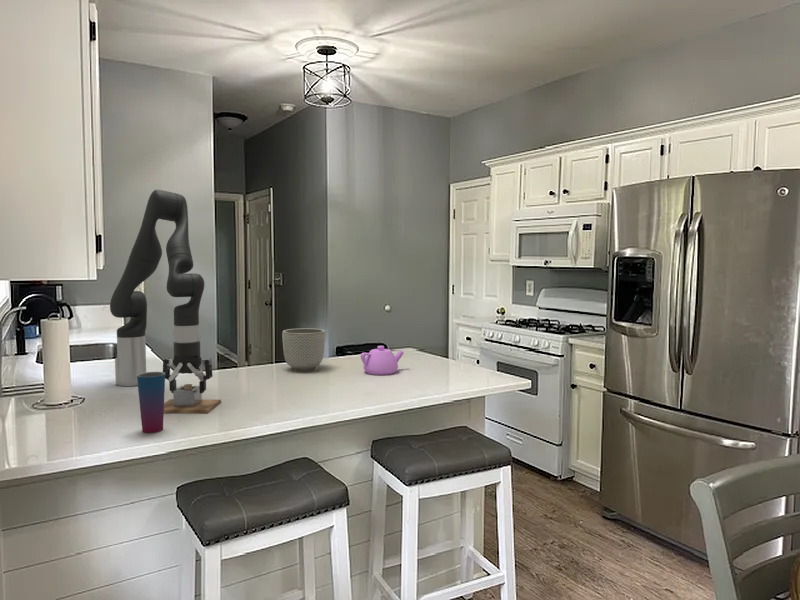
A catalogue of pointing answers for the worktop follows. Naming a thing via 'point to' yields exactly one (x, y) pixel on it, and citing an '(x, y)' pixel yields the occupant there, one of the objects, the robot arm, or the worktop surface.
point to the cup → (151, 400)
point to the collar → (187, 397)
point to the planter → (303, 348)
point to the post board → (200, 408)
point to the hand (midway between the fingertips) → (188, 392)
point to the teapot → (381, 361)
